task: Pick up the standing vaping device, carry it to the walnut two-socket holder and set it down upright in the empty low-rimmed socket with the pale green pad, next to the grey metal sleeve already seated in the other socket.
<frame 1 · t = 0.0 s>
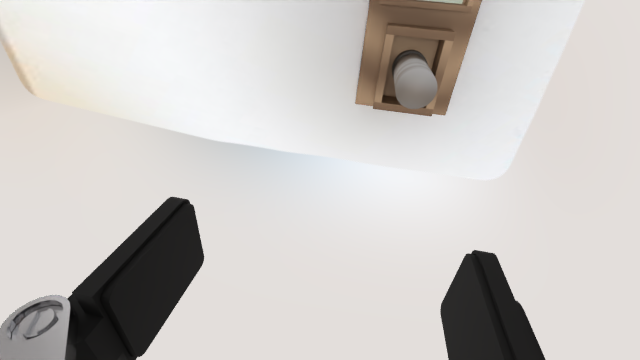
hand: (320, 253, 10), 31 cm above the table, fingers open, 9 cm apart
holder: (420, 11, 32), on the table
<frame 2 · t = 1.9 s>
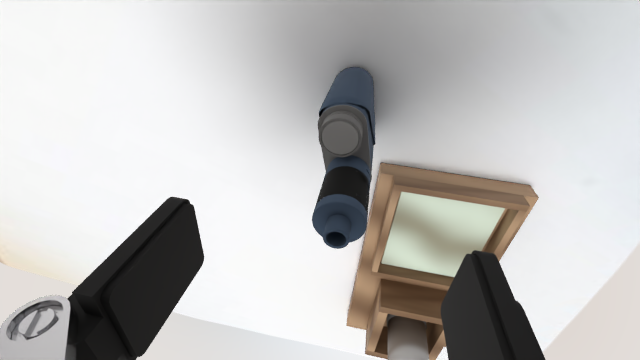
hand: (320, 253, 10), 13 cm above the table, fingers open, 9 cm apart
vaping device: (357, 101, 21), on the table
holder: (417, 264, 29), on the table
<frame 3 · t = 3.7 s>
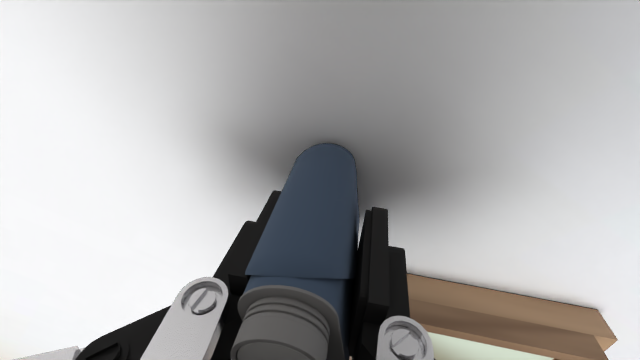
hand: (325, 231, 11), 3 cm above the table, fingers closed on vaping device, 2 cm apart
vaping device: (332, 187, 14), on the table, touching gripper
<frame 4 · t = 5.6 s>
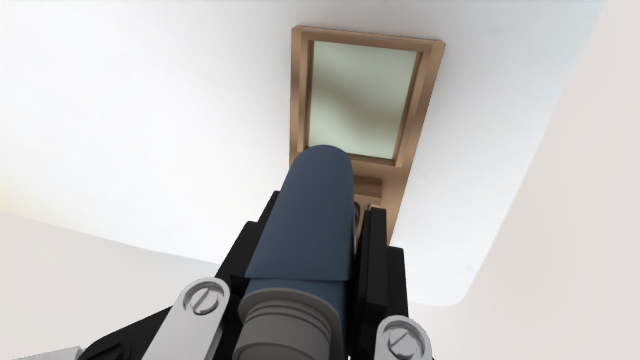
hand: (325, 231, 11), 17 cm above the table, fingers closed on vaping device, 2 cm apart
vaping device: (328, 188, 14), point 14 cm above the table, touching gripper
holder: (349, 155, 28), on the table
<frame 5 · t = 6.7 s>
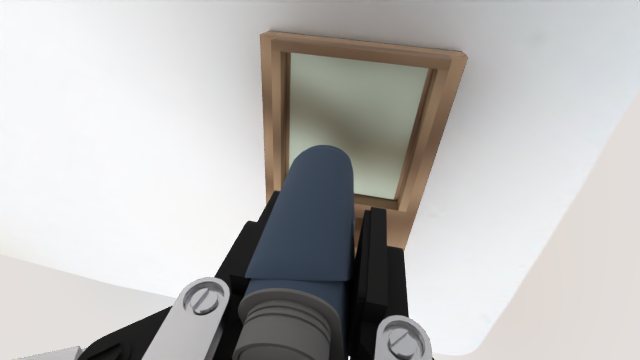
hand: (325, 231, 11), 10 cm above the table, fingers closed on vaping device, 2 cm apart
vaping device: (328, 188, 14), point 8 cm above the table, touching gripper
holder: (341, 189, 23), on the table
when the fingers open (6 cm above the table, at t = 7.7 s): vaping device drops 1 cm, resting on holder.
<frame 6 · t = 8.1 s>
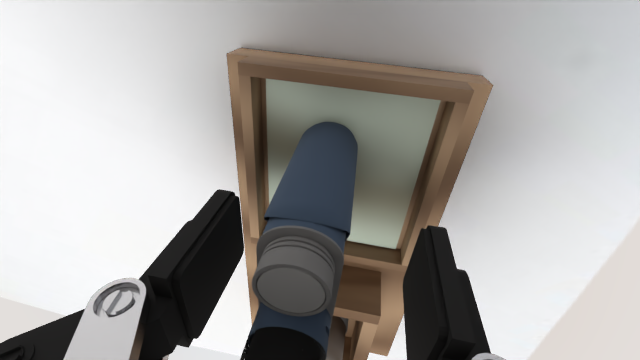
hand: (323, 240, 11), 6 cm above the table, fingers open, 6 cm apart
vaping device: (328, 164, 15), point 2 cm above the table, touching holder
holder: (333, 231, 19), on the table
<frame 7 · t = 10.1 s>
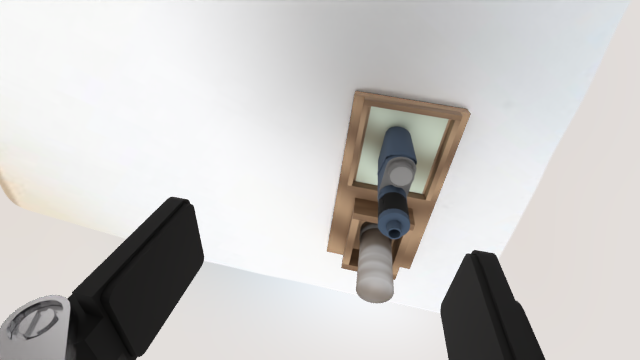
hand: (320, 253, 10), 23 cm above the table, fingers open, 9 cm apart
vaping device: (393, 147, 31), point 2 cm above the table, touching holder
holder: (385, 187, 35), on the table
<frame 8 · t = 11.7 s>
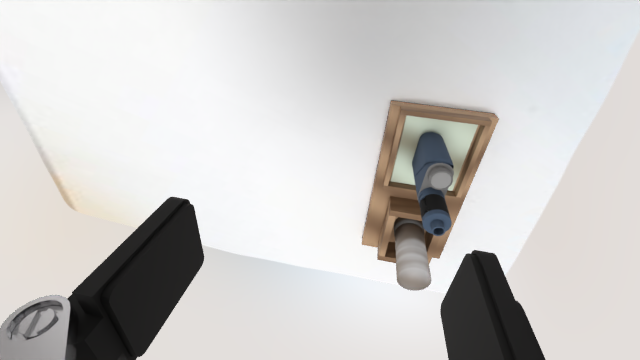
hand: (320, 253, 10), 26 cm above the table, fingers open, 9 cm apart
vaping device: (426, 150, 34), point 2 cm above the table, touching holder
holder: (417, 185, 38), on the table
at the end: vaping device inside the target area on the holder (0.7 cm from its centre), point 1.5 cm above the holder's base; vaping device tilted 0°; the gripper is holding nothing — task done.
